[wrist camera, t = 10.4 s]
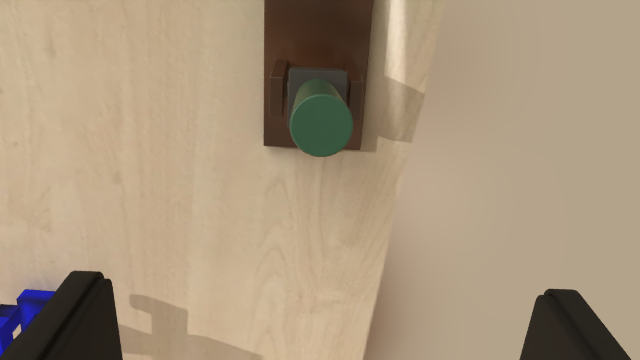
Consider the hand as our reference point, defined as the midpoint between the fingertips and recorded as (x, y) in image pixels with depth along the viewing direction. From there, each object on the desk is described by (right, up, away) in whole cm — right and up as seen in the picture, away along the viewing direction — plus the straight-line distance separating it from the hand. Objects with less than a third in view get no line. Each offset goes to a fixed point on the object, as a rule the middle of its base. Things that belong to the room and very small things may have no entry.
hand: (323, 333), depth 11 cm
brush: (0, +9, +13) cm, 16 cm away
